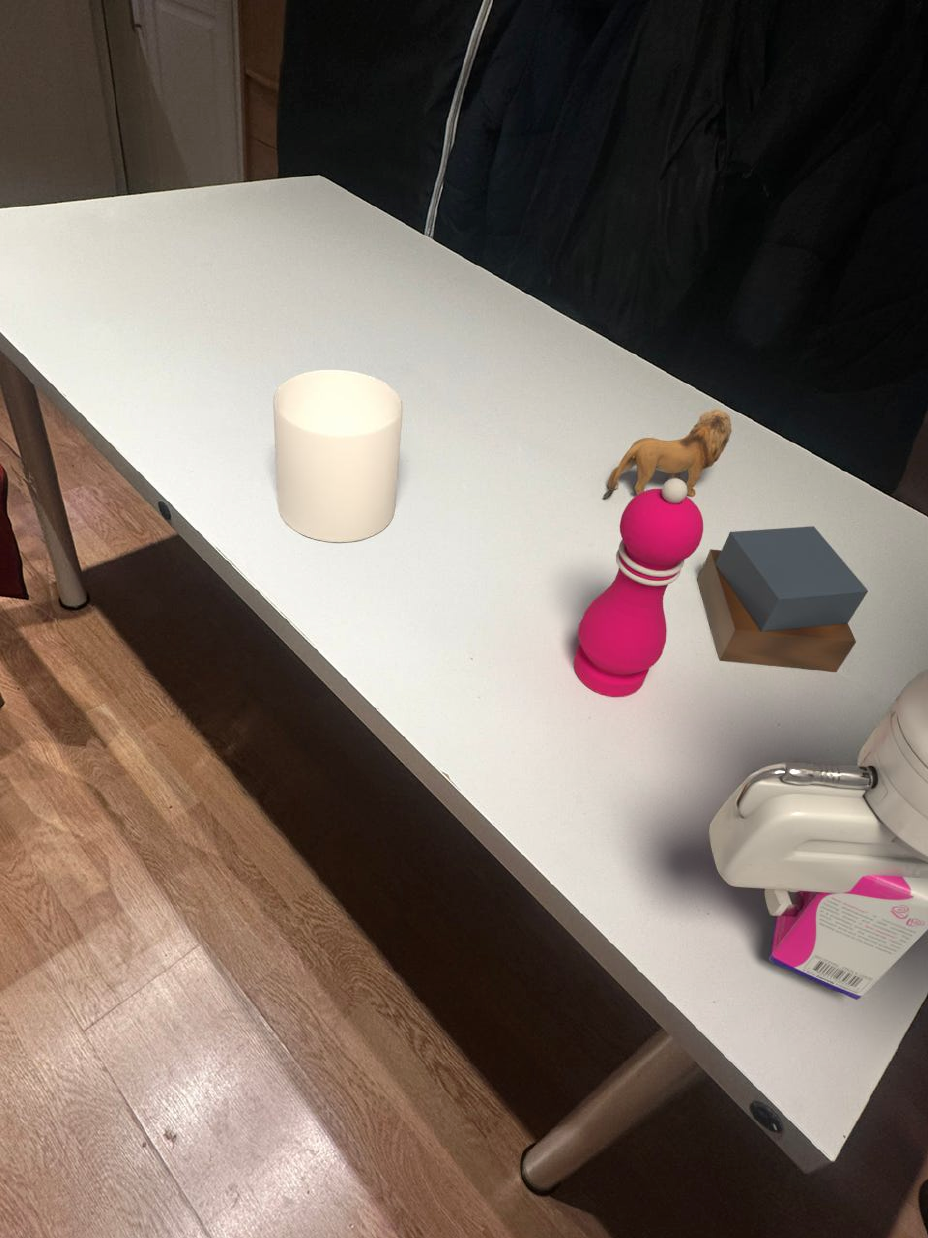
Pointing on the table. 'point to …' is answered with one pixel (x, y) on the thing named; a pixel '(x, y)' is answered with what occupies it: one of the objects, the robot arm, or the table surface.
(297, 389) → the cup
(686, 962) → the table surface
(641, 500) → the pepper mill
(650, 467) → the lion figurine
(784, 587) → the top block
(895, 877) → the supplement box
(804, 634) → the base block
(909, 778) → the robot arm
